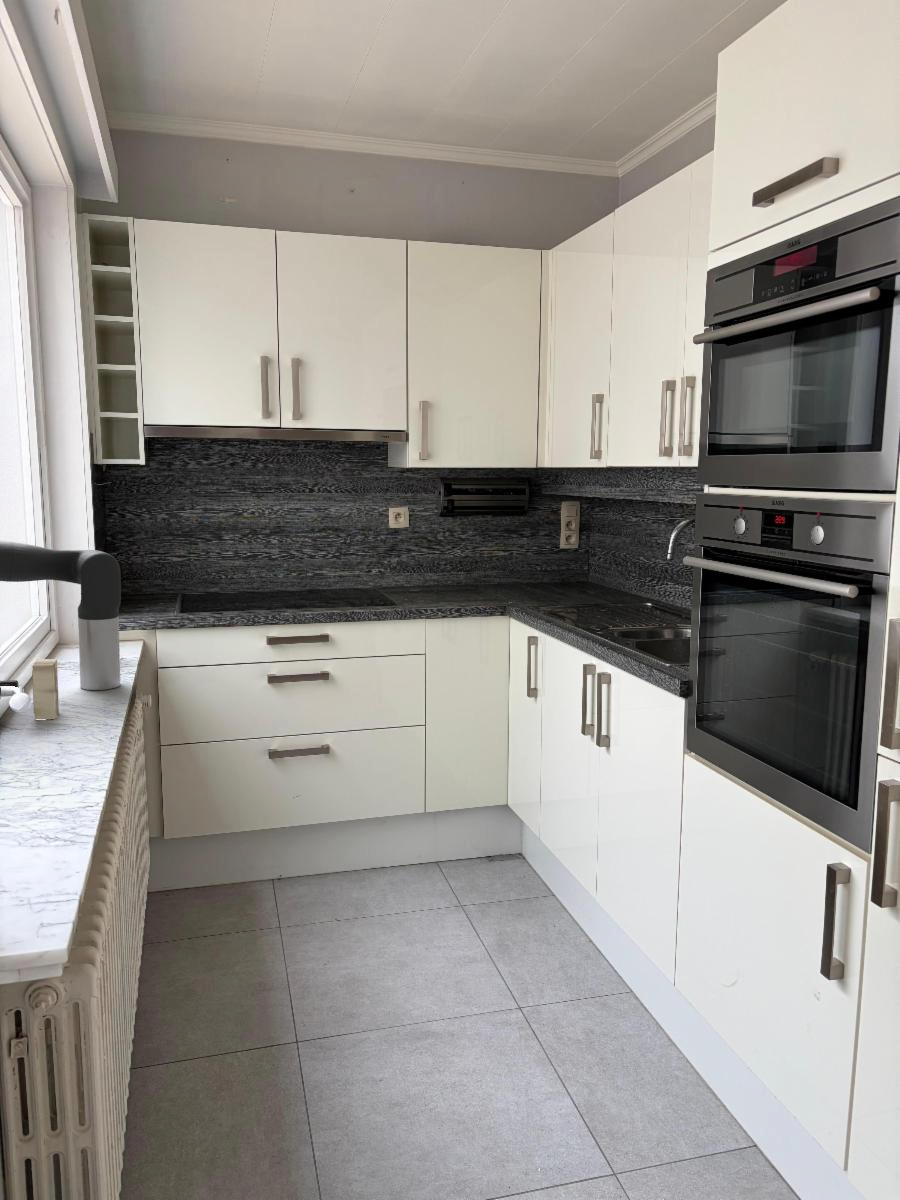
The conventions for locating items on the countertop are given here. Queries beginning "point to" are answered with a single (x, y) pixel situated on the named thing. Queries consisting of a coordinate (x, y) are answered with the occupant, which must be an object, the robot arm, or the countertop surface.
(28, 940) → the countertop surface
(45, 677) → the birch block
